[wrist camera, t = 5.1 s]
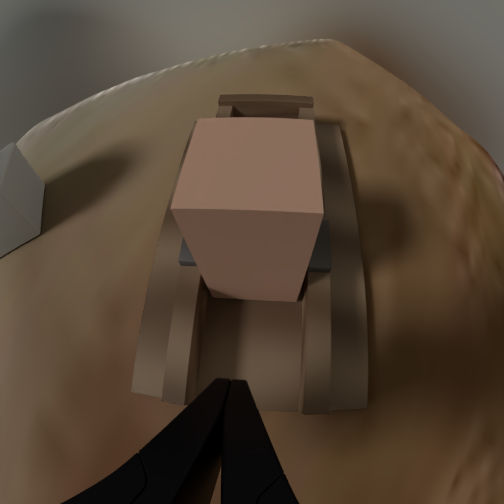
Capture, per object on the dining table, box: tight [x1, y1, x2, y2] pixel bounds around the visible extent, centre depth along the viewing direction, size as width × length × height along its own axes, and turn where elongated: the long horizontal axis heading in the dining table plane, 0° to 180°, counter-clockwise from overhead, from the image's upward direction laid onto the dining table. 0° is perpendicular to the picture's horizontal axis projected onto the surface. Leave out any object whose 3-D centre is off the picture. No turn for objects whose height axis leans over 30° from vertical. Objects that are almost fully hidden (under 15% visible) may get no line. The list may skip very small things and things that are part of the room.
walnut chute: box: [131, 94, 368, 415], centre depth 19 cm, size 24×14×4 cm, turn 176°
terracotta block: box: [170, 117, 324, 302], centre depth 14 cm, size 5×5×9 cm
